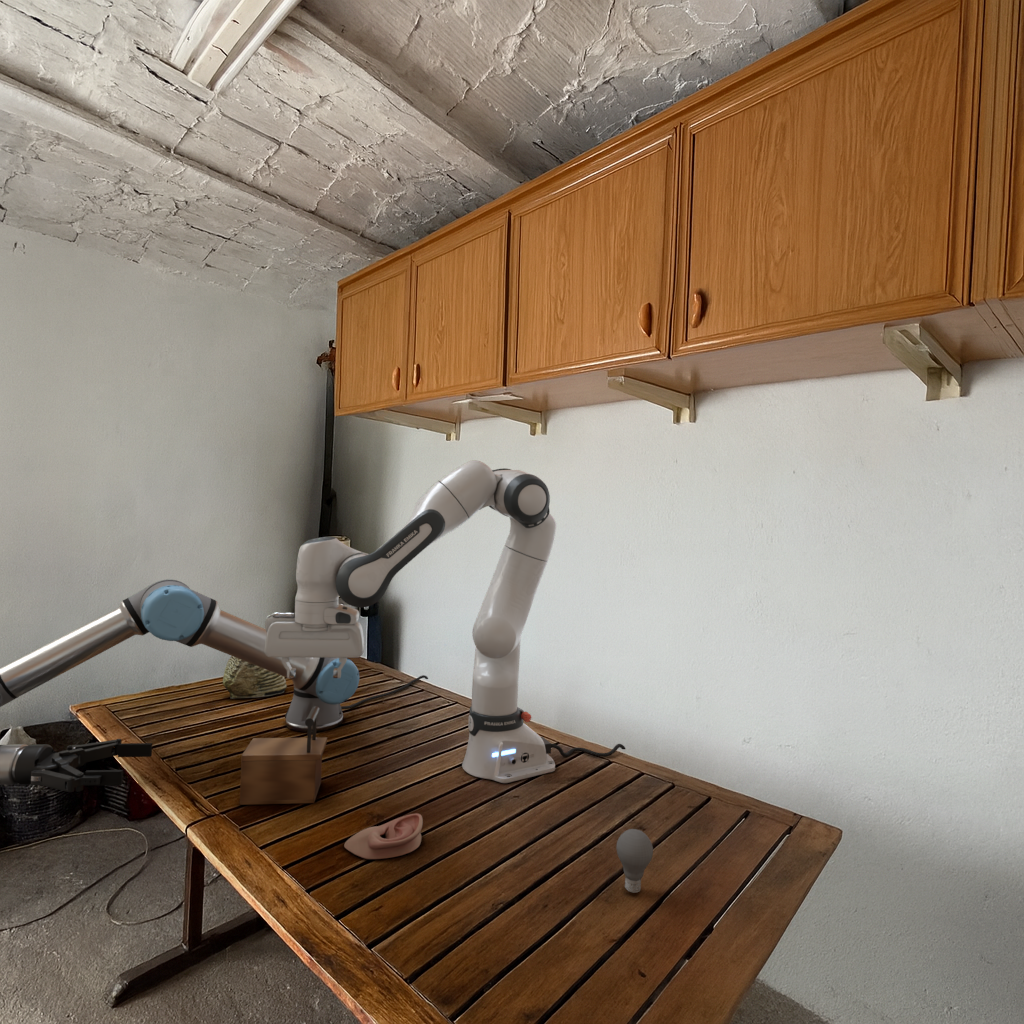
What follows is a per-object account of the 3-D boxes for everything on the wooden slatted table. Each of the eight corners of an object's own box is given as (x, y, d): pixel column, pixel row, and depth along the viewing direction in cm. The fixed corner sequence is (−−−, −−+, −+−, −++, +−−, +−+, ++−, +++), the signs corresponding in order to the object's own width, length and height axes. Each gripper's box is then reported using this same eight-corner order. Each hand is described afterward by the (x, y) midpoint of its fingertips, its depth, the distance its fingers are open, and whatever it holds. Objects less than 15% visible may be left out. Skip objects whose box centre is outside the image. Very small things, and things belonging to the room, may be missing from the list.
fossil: (218, 695, 195) (220, 647, 195) (278, 685, 208) (279, 640, 207) (228, 703, 189) (230, 653, 188) (289, 692, 201) (290, 645, 201)
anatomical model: (336, 832, 112) (364, 802, 124) (336, 854, 112) (363, 822, 124) (407, 843, 110) (429, 812, 121) (406, 866, 110) (428, 832, 121)
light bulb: (610, 879, 108) (613, 822, 108) (644, 879, 109) (647, 822, 109) (619, 902, 102) (622, 840, 102) (655, 901, 103) (658, 840, 103)
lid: (327, 742, 140) (328, 704, 140) (320, 760, 131) (322, 719, 131) (253, 743, 138) (254, 705, 138) (241, 761, 129) (242, 720, 128)
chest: (321, 782, 140) (322, 742, 140) (314, 803, 131) (315, 760, 131) (251, 784, 138) (253, 743, 138) (239, 804, 129) (241, 761, 129)
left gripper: (58, 757, 139) (161, 756, 143) (-20, 813, 115) (107, 810, 118) (59, 723, 139) (162, 723, 142) (-18, 772, 115) (108, 770, 118)
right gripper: (261, 614, 130) (259, 681, 130) (363, 616, 133) (361, 681, 133) (269, 609, 136) (266, 673, 137) (366, 611, 139) (363, 673, 140)
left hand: (137, 763), depth 130 cm, fingers open, 13 cm apart
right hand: (314, 677), depth 135 cm, fingers open, 8 cm apart
